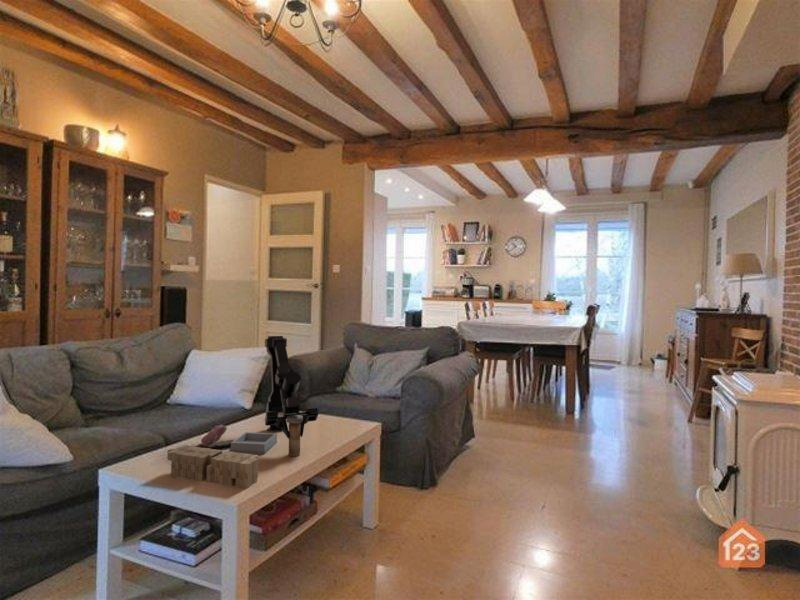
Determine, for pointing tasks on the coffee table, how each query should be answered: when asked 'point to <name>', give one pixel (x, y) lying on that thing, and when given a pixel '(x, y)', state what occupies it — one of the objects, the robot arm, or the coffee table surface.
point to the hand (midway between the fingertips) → (295, 437)
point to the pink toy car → (214, 434)
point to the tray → (254, 443)
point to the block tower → (214, 466)
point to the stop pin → (294, 434)
